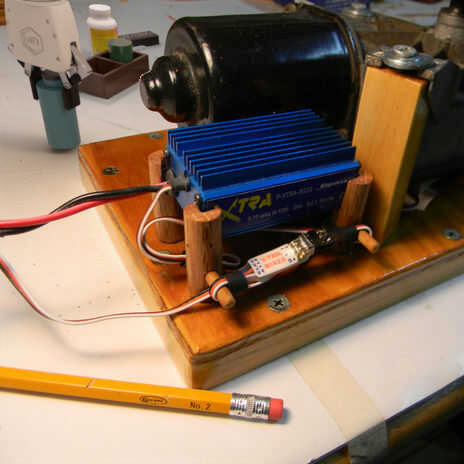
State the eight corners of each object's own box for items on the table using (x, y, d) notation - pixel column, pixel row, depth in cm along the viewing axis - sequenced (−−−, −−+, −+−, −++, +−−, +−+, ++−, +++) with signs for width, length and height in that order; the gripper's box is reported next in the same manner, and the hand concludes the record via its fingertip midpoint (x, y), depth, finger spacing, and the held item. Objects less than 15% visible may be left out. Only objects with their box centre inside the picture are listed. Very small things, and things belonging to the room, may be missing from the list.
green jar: (107, 77, 110) (102, 42, 105) (120, 70, 114) (116, 36, 109) (126, 82, 109) (122, 47, 104) (139, 75, 113) (136, 41, 108)
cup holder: (73, 91, 104) (68, 66, 100) (119, 68, 116) (116, 45, 112) (107, 102, 102) (104, 77, 99) (150, 77, 115) (148, 54, 111)
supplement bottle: (124, 65, 118) (118, 11, 110) (96, 68, 114) (88, 12, 106) (116, 55, 122) (109, 2, 114) (89, 57, 118) (80, 3, 110)
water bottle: (41, 143, 84) (25, 72, 76) (62, 131, 89) (49, 63, 80) (67, 152, 84) (54, 82, 76) (87, 139, 88) (77, 71, 80)
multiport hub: (159, 43, 132) (159, 35, 131) (124, 50, 125) (123, 41, 124) (150, 38, 134) (149, 30, 133) (115, 44, 127) (114, 36, 126)
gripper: (-34, -23, 68) (-3, 96, 80) (69, 7, 66) (86, 124, 77) (7, -30, 74) (31, 81, 85) (103, -3, 72) (114, 108, 83)
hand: (57, 101), depth 81 cm, fingers closed on water bottle, 5 cm apart
